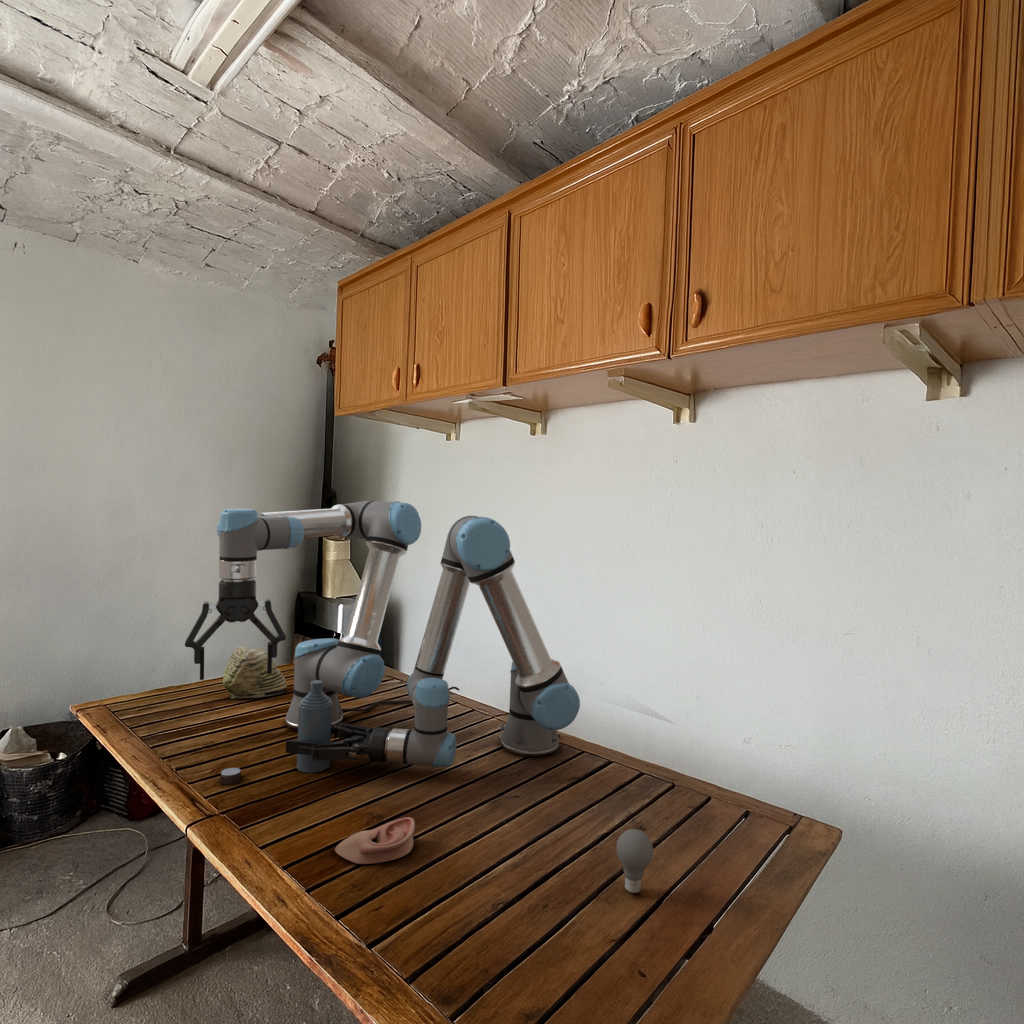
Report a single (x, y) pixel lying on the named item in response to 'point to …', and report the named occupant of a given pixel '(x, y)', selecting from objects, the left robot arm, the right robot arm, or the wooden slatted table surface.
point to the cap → (230, 776)
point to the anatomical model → (379, 843)
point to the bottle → (314, 725)
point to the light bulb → (634, 857)
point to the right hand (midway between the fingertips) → (296, 737)
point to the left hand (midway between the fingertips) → (236, 675)
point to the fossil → (252, 675)
